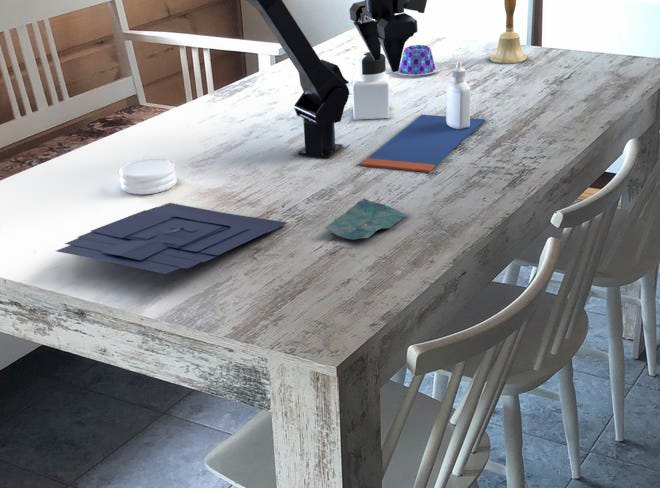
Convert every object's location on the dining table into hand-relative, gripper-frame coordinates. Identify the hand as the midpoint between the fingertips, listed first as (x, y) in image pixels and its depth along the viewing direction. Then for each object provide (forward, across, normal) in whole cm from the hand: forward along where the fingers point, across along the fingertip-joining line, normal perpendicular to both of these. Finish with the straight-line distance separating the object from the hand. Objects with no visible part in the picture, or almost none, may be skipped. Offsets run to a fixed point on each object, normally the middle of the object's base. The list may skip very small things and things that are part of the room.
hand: (386, 65), depth 193 cm
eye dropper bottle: (+14, -3, -13) cm, 19 cm away
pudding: (+16, +40, -22) cm, 48 cm away
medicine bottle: (+14, +14, -1) cm, 20 cm away
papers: (+9, -36, +50) cm, 63 cm away
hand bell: (+17, +38, -44) cm, 61 cm away
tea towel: (+13, -8, -4) cm, 16 cm away
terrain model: (+11, -41, +21) cm, 47 cm away
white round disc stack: (+10, -5, +49) cm, 50 cm away
